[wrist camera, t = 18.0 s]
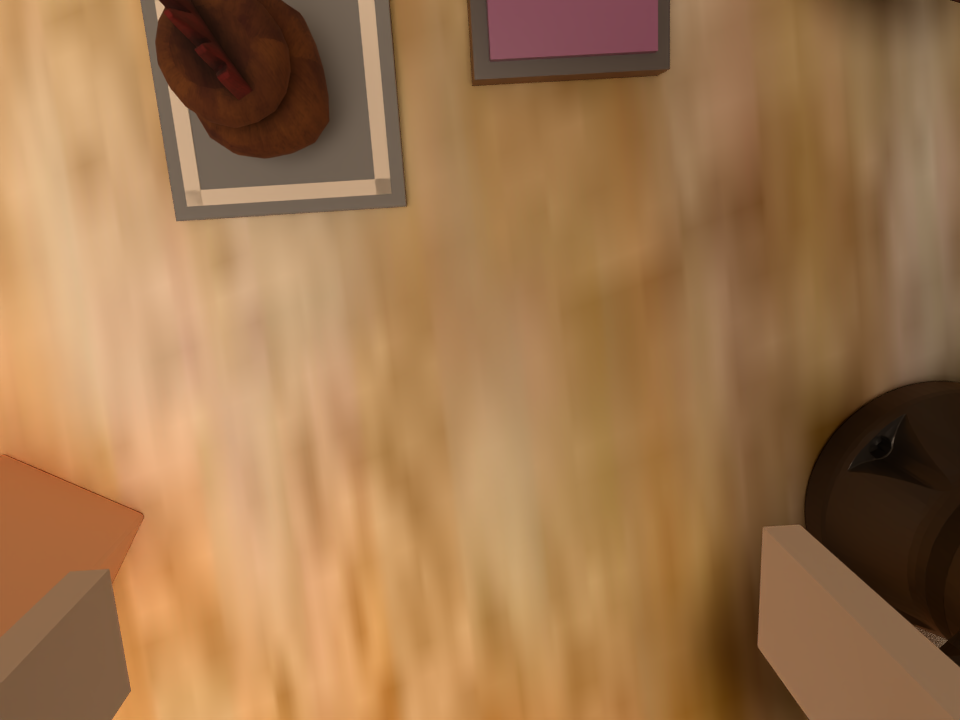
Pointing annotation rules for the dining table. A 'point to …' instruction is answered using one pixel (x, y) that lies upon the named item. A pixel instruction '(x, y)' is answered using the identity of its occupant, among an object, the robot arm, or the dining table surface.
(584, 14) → the ink pad
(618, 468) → the dining table surface
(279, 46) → the wooden figurine
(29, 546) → the soap dispenser
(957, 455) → the robot arm
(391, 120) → the marked board
